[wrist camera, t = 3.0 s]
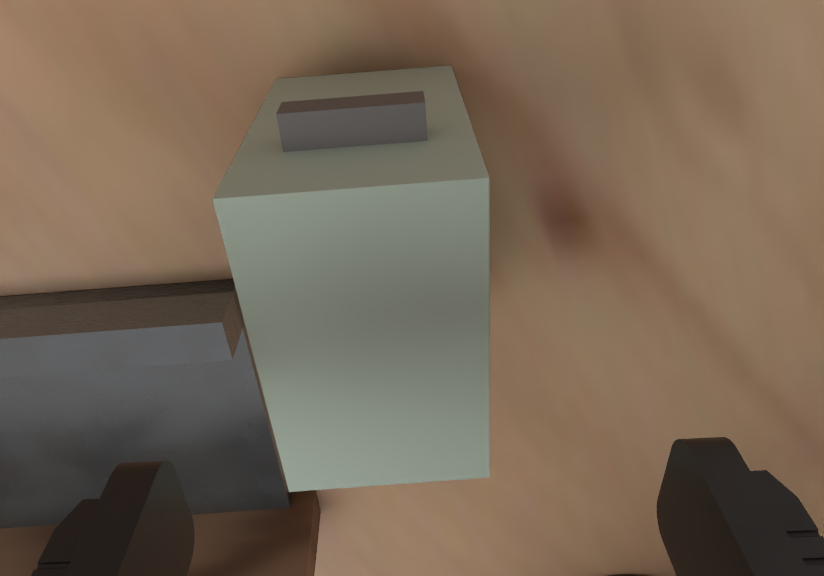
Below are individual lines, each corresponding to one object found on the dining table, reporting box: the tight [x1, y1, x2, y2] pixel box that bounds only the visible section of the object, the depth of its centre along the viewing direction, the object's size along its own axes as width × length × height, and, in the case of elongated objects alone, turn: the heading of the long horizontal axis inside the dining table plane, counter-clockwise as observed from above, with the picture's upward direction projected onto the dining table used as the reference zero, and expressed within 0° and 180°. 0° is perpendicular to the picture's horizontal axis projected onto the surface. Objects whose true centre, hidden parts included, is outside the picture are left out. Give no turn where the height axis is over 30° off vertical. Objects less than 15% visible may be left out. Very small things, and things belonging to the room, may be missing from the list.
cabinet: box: [212, 65, 490, 492], centre depth 17 cm, size 5×9×8 cm, turn 4°
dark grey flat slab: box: [0, 279, 293, 529], centre depth 24 cm, size 18×11×2 cm, turn 94°
